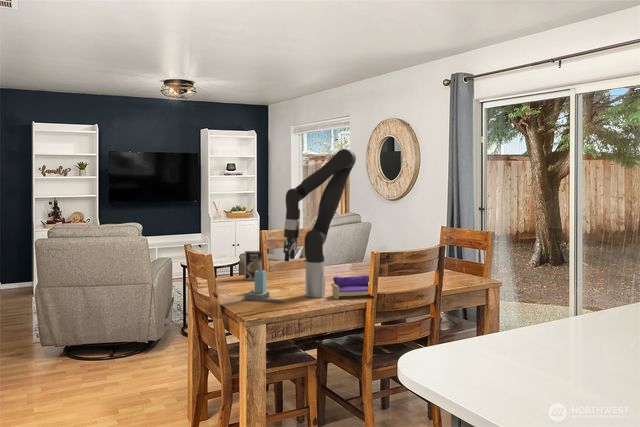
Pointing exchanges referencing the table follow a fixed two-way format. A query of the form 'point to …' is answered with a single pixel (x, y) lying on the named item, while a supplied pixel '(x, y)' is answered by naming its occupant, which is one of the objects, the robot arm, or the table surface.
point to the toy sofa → (350, 286)
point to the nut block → (260, 281)
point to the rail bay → (260, 297)
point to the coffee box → (252, 264)
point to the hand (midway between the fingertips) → (289, 260)
